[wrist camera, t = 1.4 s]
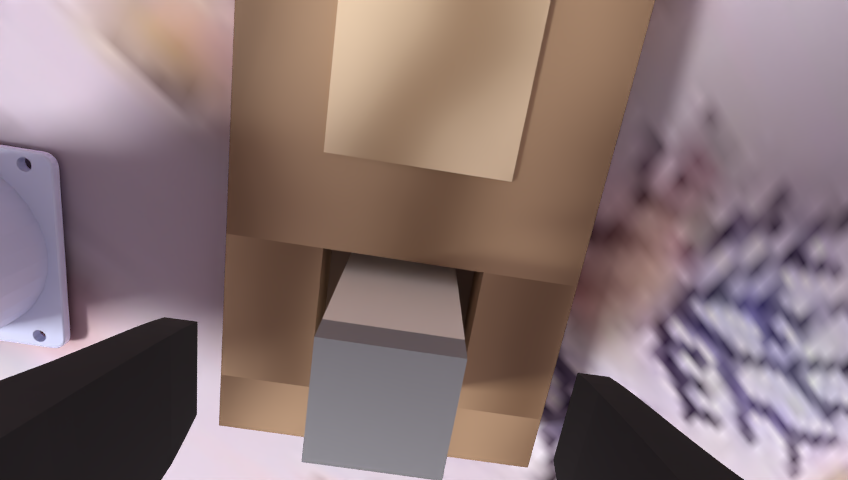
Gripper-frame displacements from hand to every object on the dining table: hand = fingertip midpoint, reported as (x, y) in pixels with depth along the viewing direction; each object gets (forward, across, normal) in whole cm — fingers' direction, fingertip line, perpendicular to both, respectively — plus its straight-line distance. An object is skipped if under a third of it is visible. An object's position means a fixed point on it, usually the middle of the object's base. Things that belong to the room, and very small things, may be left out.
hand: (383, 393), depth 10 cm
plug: (+10, 0, +3) cm, 10 cm away
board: (+10, 0, -1) cm, 10 cm away
